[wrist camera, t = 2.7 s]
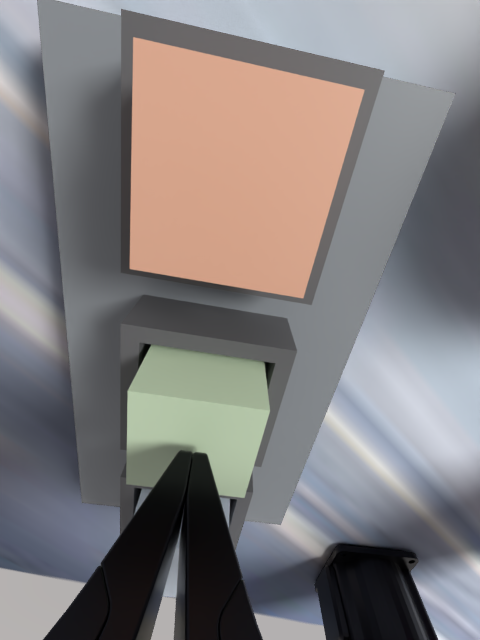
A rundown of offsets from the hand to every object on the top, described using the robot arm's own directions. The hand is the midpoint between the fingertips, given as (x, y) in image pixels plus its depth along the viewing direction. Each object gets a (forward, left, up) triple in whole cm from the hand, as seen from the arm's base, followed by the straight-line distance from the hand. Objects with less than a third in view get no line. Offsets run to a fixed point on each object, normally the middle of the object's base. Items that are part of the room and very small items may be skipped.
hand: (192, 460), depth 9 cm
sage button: (0, 0, -3) cm, 3 cm away
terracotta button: (0, -7, -3) cm, 8 cm away
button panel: (0, 0, -7) cm, 7 cm away
